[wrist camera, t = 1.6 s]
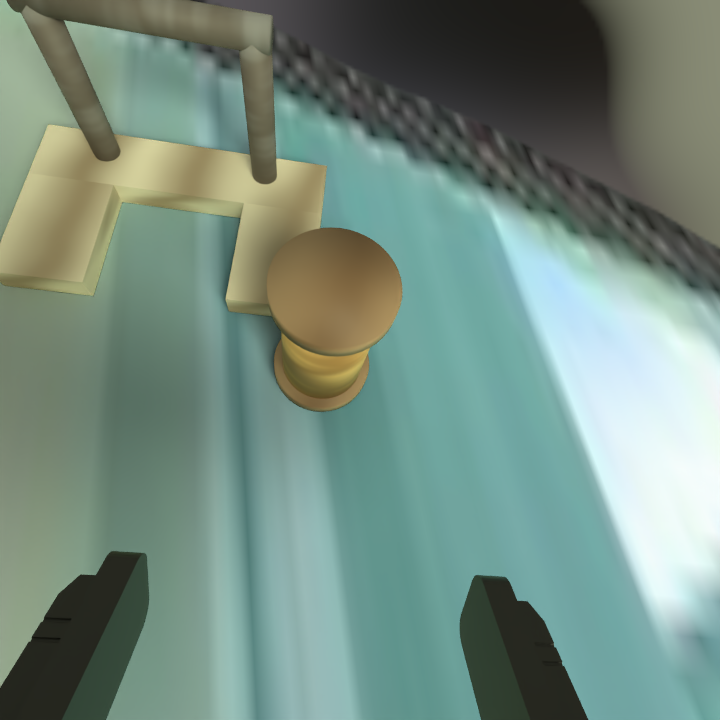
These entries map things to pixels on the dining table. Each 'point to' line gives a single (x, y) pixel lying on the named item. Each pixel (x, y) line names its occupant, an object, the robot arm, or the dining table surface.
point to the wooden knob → (329, 313)
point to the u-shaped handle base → (153, 158)
